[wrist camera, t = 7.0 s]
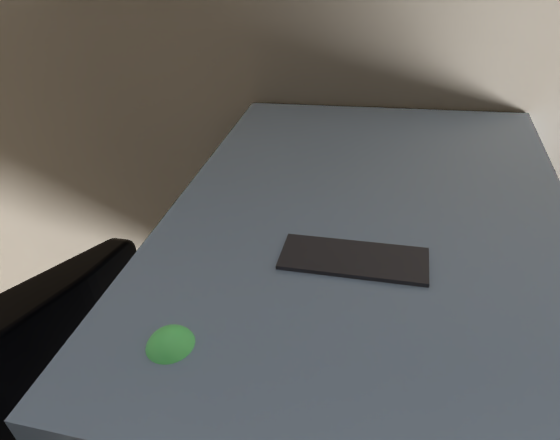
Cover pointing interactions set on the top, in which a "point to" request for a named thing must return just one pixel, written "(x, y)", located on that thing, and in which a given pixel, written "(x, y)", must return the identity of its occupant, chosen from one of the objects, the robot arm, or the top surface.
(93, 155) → the top surface
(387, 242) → the charger
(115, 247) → the robot arm
